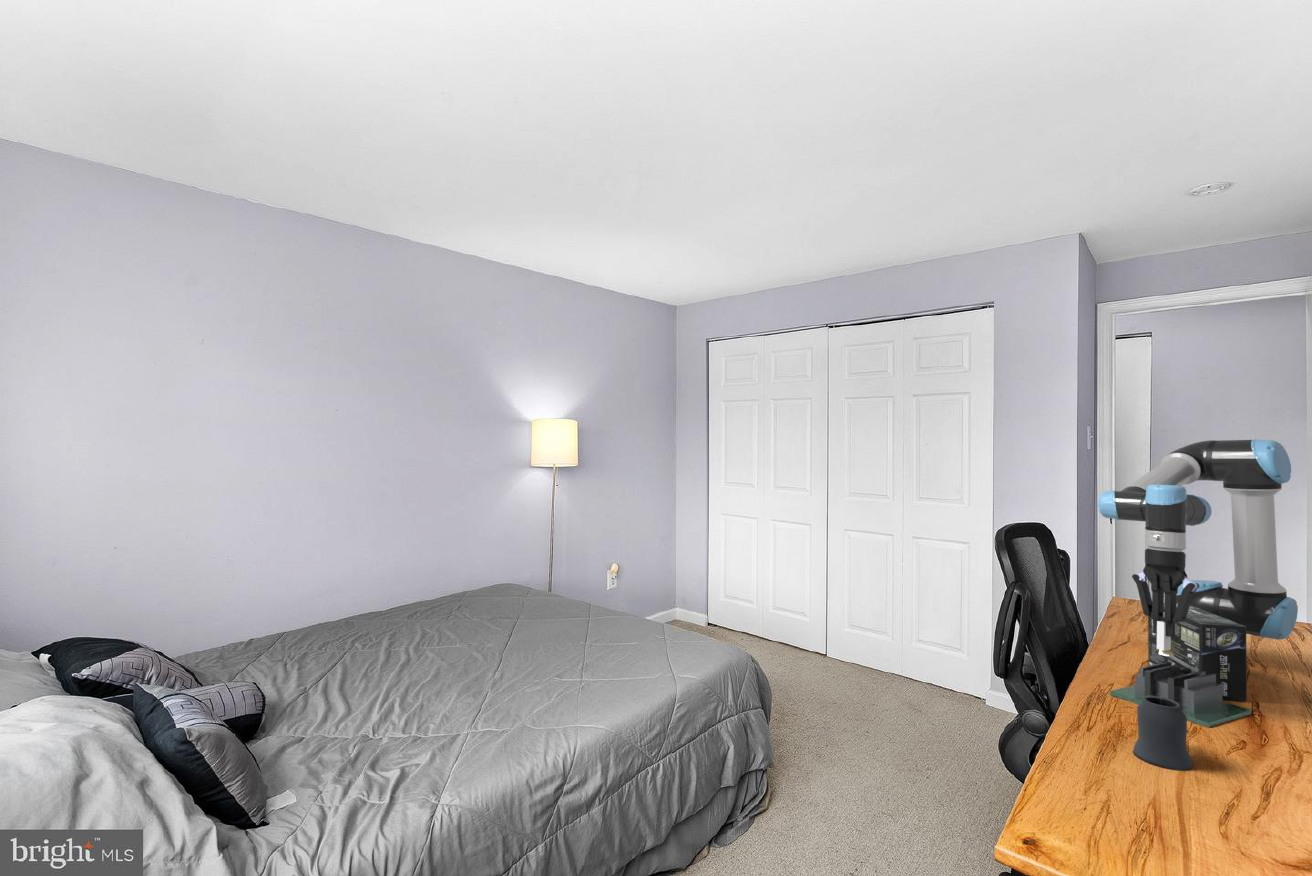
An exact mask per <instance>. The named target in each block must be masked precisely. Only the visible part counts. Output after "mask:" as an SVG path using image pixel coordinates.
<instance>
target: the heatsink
mask: <svg viewBox="0 0 1312 876" xmlns="http://www.w3.org/2000/svg"><path fill="white" fill-rule="evenodd" d="M1139 668H1140V672H1139V673H1136V674H1134V684H1133V685H1129V686H1125V687H1121V688H1116V689H1112V690H1110V692H1109V694H1110V696H1112V697H1115V698H1119V699H1122V700H1124V701H1128V702H1130V703H1132V704H1133V703H1134V704H1136V705H1139V704H1140V703H1141V702H1142V700H1143V698H1144V696H1158V697H1163V698H1167V699H1171V700H1173V701H1176V702H1177V703H1179V704H1180V706H1181V710H1182V711H1183V713H1184V714H1185V716H1186V717H1187V722H1190V723H1194V724H1197V725H1200V726H1202V727H1206V728H1211V727H1215V726H1217V725H1218V726H1219V725H1221V724H1224V723H1227V722H1231V721H1234V720H1238V719H1241V718H1244V717H1248V716H1250V715H1252V709H1249V708H1246V707H1242V706H1239V705H1235V704H1231V703H1228V702H1225V701H1223V697H1222V684H1220V683H1216V674H1214V673H1211V674H1206V671H1203V670H1202V671H1198V672H1194V673H1189V672H1188V671H1187V670H1185V669H1181V667H1180V666H1178V665H1177V664H1176V665H1171V662H1164V663H1159V664H1155V665H1150V666H1148V665H1146V666H1141V667H1139Z"/></svg>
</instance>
